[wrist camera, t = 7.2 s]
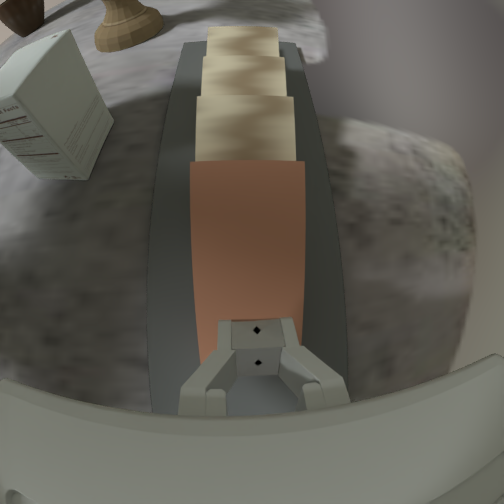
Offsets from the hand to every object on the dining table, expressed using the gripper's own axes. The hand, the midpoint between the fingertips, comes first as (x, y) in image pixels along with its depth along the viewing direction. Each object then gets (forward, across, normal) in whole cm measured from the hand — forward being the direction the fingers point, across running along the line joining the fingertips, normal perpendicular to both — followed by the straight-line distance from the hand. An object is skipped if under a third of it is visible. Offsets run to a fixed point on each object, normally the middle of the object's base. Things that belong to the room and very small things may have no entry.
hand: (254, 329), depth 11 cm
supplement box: (+17, +17, -6) cm, 25 cm away
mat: (+13, 0, -2) cm, 13 cm away
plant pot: (+55, +57, -43) cm, 90 cm away
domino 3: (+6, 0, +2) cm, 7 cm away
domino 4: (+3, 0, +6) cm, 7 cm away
